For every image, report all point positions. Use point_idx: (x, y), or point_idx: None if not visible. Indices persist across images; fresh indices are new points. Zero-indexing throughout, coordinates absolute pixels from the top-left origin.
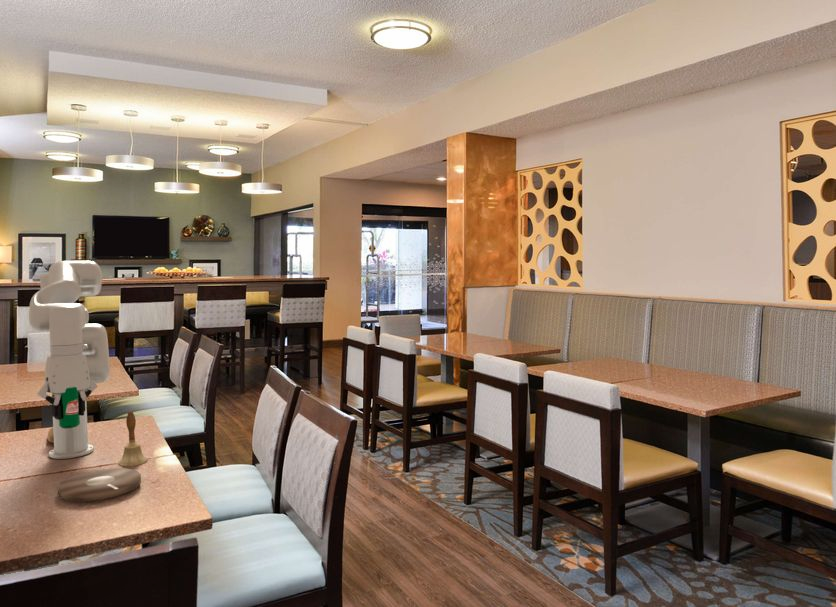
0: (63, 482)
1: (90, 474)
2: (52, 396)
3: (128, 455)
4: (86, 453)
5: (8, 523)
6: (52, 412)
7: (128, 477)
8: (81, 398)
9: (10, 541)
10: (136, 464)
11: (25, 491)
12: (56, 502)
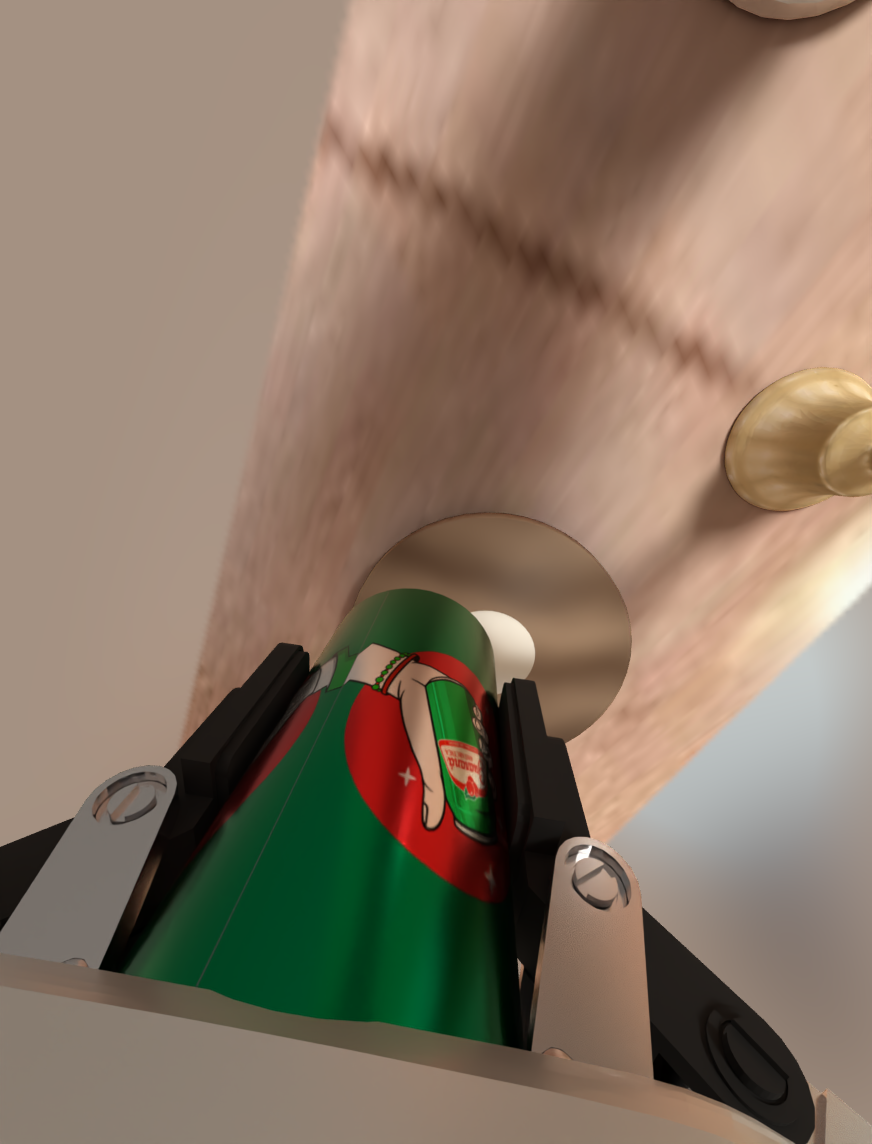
0: (399, 556)
1: (510, 560)
2: (33, 934)
3: (784, 472)
4: (837, 6)
5: (206, 639)
6: (218, 710)
7: (560, 703)
8: (521, 969)
9: (188, 734)
10: (760, 507)
11: (321, 408)
12: (349, 610)
